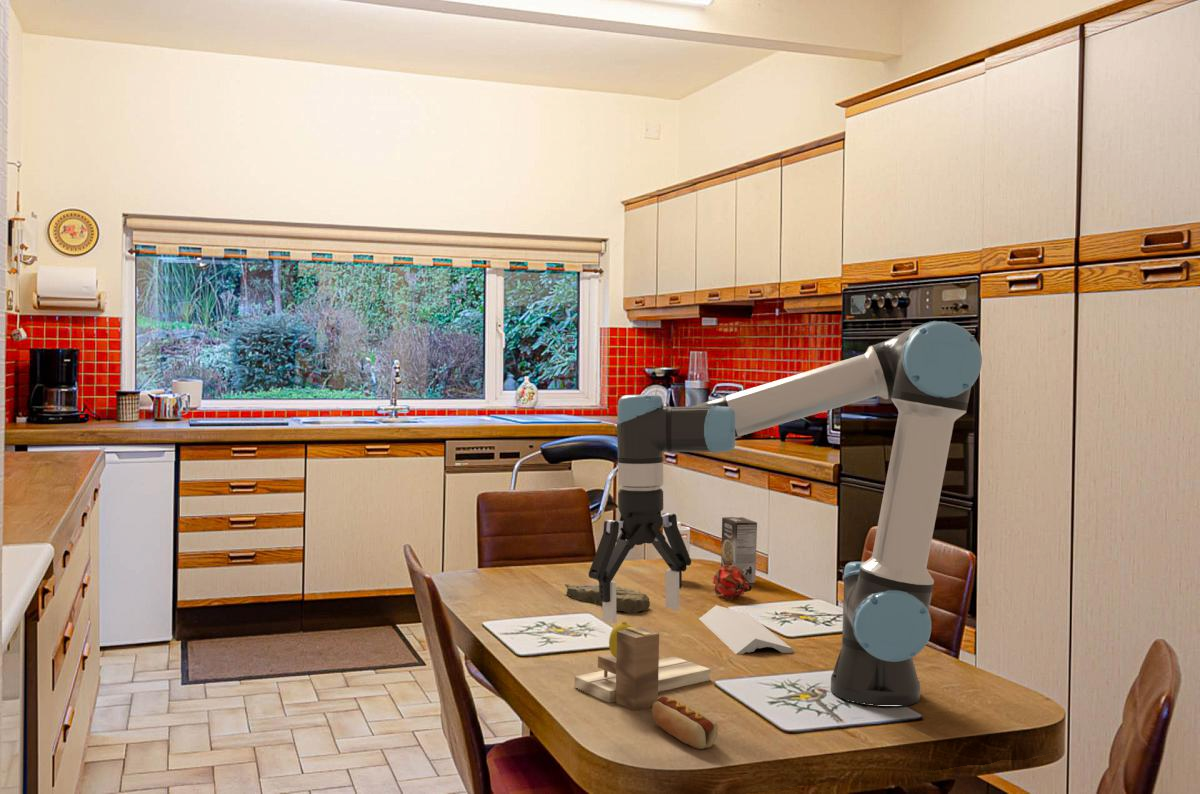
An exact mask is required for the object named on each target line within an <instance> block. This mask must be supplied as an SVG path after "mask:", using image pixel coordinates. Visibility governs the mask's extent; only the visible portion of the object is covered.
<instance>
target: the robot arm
mask: <svg viewBox="0 0 1200 794" xmlns="http://www.w3.org/2000/svg"><path fill="white" fill-rule="evenodd" d="M982 358H983V357H982V351H981V348H980V345H979V343H978V342H977V340H976V338H975V337H974V336H973V335H972V334H971V332H969V331H968V330H967V329H966V328H964V327H963V326H961V325H959V324H956V323H953V322H949V321H947V320H946V321H945V320H943V321H941V320H940V321H939V320H938V321H937V320H933V321H928V322H925V323H923V324H920V325H917V326H914V327H911V328H910V329H908V330H906V331H903V332H902V333H900V334H898V335H897V336H893V337H891V338H890V339H888V340H885V341H882V342H879V343H876V344H873V345H869V346H868V347H867V349H866V351H865V353H863V354H859V355H857V356H854V357H850V358H847V359H844V360H840V361H837V362H833V363H830V364H827V365H823V366H819V367H817V368H814V369H810V370H807V371H804V372H801V373H797V374H793V375H790V376H787V377H784V378H779V379H777V380H774V381H770V382H767V383H764V384H761V385H758V386H754V387H751V388H746V389H744V390H741V391H737V392H734V393H731V394H728V395H726V396H722V397H719V398H715V399H711V400H708V401H706V402H705V401H703V402H702V401H701V402H699V403H695V404H693V405H691V406H667V405H664V402H663V397H662V396H661V395H659V394H626V395H622V396H621V397H620V398H619V399H618V401H617V419H616V420H617V421H616V433H617V434H616V435H617V436H616V437H617V439H616V440H617V485H618V486H619V487H621V488H620V489H619V490H618V491H617V508H618V512H619V514H620V517H619V520H613V519H607V518H606V519H605V520H604V523H603V533H602V536H601V538H600V541H599V544H598V547H597V550H596V553H595V554H594V558H593V561H592V563H591V566H590V569H589V571H588V573H587V574H588V578H590V579H593V580H596V581H598V586H599V599H600V601H602V602H603V605H602V621H606V622H609V623H612V624H615V623H617V611H616V587H617V582H616V581H613V580H614V578H615V576H616V574H617V573H618V571H619V569H620V568H621V566H622V564H623V562H624V560H625V559H626V558H627V555H629V553H630V551H631V550H633V549H634V548H635V546H641V545H644V544H652V545H653V547H654V548H655V550H656V551H657V553H658V554H659V555H660V557H661V558H663V559H664V560H663V559H662V560H663V561H664V562H665V564H666V565H667V566H668V568H669V569H665V570H664V571H665V574H664V575H665V576H664V577H665V583H664V584H665V608H666V609H669V610H672V611H673V610H674V611H676V612H677V611H680V589H682V586H683V585H682V584H683V583H682V582H683V580H682V579H683V577H682V576H683V573H682V572H686V571H687V568H688V567H687V566H691V564H692V560H691V556H690V553H689V554H688V551H687V549H686V546H685V544H684V542H683V539H682V537H681V536H682V534H680V532H679V529H678V527H677V522H678V519H677V514H675V513H671V512H665V511H664V512H662V511H663V510H664V490H663V489H662V488H661V487H662V486H663V485H664V456H663V455H664V453H665V452H667V453H673V452H674V453H675V452H679V453H682V452H683V453H689V452H690V453H712V454H716V453H722V452H723V453H725V452H731V451H734V449H735V447H736V438H737V437H741V436H744V435H748V434H752V433H755V432H758V431H762V430H765V429H769V428H771V427H776V426H779V425H783V424H785V423H789V422H792V421H796V420H800V419H802V418H806V417H809V416H813V415H816V414H820V413H823V412H824V413H825V412H827V411H830V410H835V409H837V408H841V407H844V406H847V405H852V404H854V403H857V402H861V401H865V400H868V399H872V398H876V397H880V398H881V399H884V400H889V399H891V402H892V403H893V404H894V406H895V407H896V409H897V412H898V415H897V421H896V425H895V429H894V430H895V432H894V436H893V442H892V447H891V453H890V457H889V458H890V459H889V462H888V468H887V469H888V470H887V473H886V474H887V475H886V479H885V485H884V490H883V497H882V501H881V506H880V511H879V516H878V517H879V518H878V522H877V527H876V534H875V537H874V538H875V539H874V545H873V550H872V554H871V556H870V558H869V559H867V560H866V561H850V562H848V563H846V564H845V566H844V572H843V576H842V581H843V597H842V598H843V600H842V602H843V603H842V604H843V605H842V633H841V634H842V637H841V638H842V639H841V649H840V652H839V655H838V657H837V660H836V663H835V665H834V669H833V672H832V674H831V677H830V692H831V691H832V692H831V693H832V694H833V693H834V694H835V695H834V694H833V695H834V696H835V697H837V696H838V698H839V697H840V699H841V698H843V699H842V700H844V699H846V700H845V701H847V700H849V701H848V702H850V701H854V702H858V703H865V704H873V705H902V706H901V707H906V706H912V705H913V704H916V703H917V702H919V701H920V699H921V683H920V681H919V677H918V674H917V670H916V667H915V662H914V658H913V657H916V656H917V655H918V654H919V653H920V652H922V651H923V649H924V648H925V647H926V646H927V644H928V642H929V640H930V638H931V633H932V619H931V618H932V617H931V613H930V612H929V611H930V605H931V601H932V596H933V590H934V584H935V580H934V578H933V577H932V575H931V574H930V572H929V571H928V569H927V568H928V562H929V557H930V556H929V555H930V551H931V546H932V541H933V537H934V536H933V534H934V530H935V524H936V520H937V515H938V509H939V504H940V498H941V492H942V488H943V481H944V478H945V473H946V467H947V461H948V456H949V450H950V446H951V440H952V435H953V430H954V424H955V422H956V421H957V420H958V419H960V418H961V417H962V416H963V415H965V414H967V410H968V405H969V401H970V400H969V399H970V395H971V389H972V386H974V384H975V383H976V381H977V379H978V378H979V375H980V373H981V370H982V363H983V359H982ZM661 512H662V513H661ZM661 528H662V530H663V529H664V531H665V534H666V536H667V539H668V541H669V544H670V546H671V547H670V546H669V545H668V543H667V542H666V537H664V535H663V531H661ZM619 533H620V534H619ZM670 569H671V570H670ZM854 702H853V703H854ZM858 703H857V704H858Z"/></svg>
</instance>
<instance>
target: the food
mask: <svg viewBox="0 0 1200 794" xmlns="http://www.w3.org/2000/svg"><path fill="white" fill-rule="evenodd" d="M651 710H652V716H653V719H654V721H655V723H656V725H657V726H658V727H660V728H661V729H663V731H665V732H667V733H668V734H669V735H671V736H673V737H675V738H676V739H678V740H679V741H681V742H682V743H684V744H685V745H688V746H691V747H692V748H693V749H694V748H695V749H698V750H703V749H708V748H711V747H712V746H713V745H714V744H715V742H716V741H717V737H718V729H719V725H718V723H717V722H716V721H715V720H713V719H711V718H709V717H708V716H705V715H704V714H702V713H701V712H699V711H696V710H694V709H692V708H690V706H688V705H686V704H683V703H681V701H679V700H678V699H672V698H669V697H667V696H660V697H658V701H657V702H655V703H654V704H653V706H652V709H651Z"/></svg>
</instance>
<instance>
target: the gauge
mask: <svg viewBox="0 0 1200 794" xmlns="http://www.w3.org/2000/svg"><path fill="white" fill-rule="evenodd" d="M633 627H634V626H633ZM633 627H628V628H625V630H622V631H617V656H616V657H614V656H613V655H612V654H611V655H610V654H601V655H598V656H597V668H598V669H601V670H602V671H603V670H604V677H605V678H607V676H608V672H611V673H613V674H616V702H615V703H616V704H619V705H621V706H623V707H625V708H627V709H630V710H632V711H638V710H639V711H640V710H642V709H647V708H651V707H652V708H653V704H654V703H655V702H657V701H658V699H659V692H658V669H659V659H660V658H659V657H660V633H658V632H655V631H653V630H649V629H646V628H643V627H634V628H633Z"/></svg>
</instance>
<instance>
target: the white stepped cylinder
mask: <svg viewBox="0 0 1200 794" xmlns="http://www.w3.org/2000/svg"><path fill="white" fill-rule="evenodd" d="M677 527H678V529H679V532H680V534H681V537H682V539H683V542H684V544H685V546H686V549H687V551H688V554H689V555H690V549H691V548H690V546H691V545H690V542H691V541H690V540H691V538H690V537H691V528H690V527H689V526H682V522H681V521H677ZM662 534H663V535H664V537H665V538H666V539H665V540H666V542H667V543H668V545H669V546H670V544H669V541H668V539H667V536H666V534H665V531H664V529H663V528H662ZM670 547H671V546H670ZM661 558H662V557H661ZM662 560H663V561H664V559H663V558H662ZM669 570H671V569H670V568H669Z"/></svg>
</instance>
